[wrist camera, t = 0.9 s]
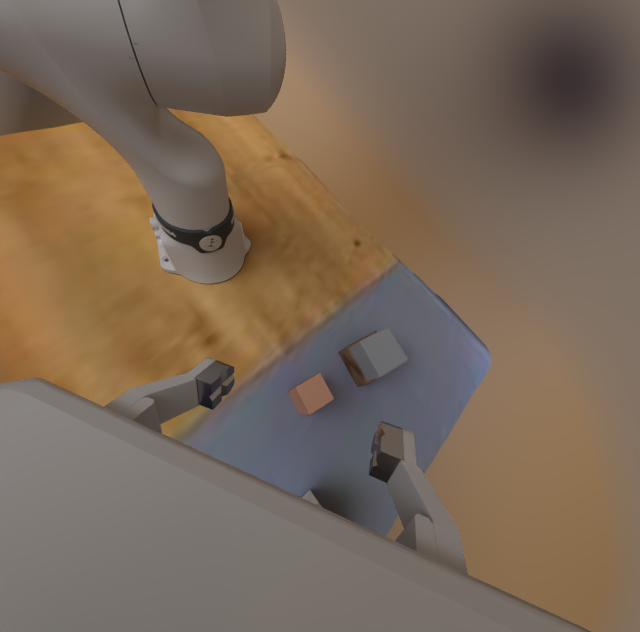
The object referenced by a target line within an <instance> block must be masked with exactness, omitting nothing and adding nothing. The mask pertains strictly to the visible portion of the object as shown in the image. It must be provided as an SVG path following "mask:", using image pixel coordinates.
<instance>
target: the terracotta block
mask: <svg viewBox="0 0 640 632" xmlns="http://www.w3.org/2000/svg"><path fill="white" fill-rule="evenodd" d="M288 393H289V395H290V397H291V399H292V401H293V403H294V405H295V407H296V409H297V411H298V413H299V414H306V415H310V414H312V413H313V412H315V411H316V410H318V409H320V408H321V407H323V406H324V405H326V404H327V403H329V402H330V401H332V400H333V399H334V397H333V396H332V394H331V392H330V390H329V388H328V386H327V385H326V383H325V381H324V379H323V377H322V375H321V374H320V373H319V374H317V375H316V376H314V377H312V378H310V379H309V380H307V381H305V382H303V383H302V384H300V385H298V386H297V387H295V388H293V389H291V390H290V391H288Z"/></svg>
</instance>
